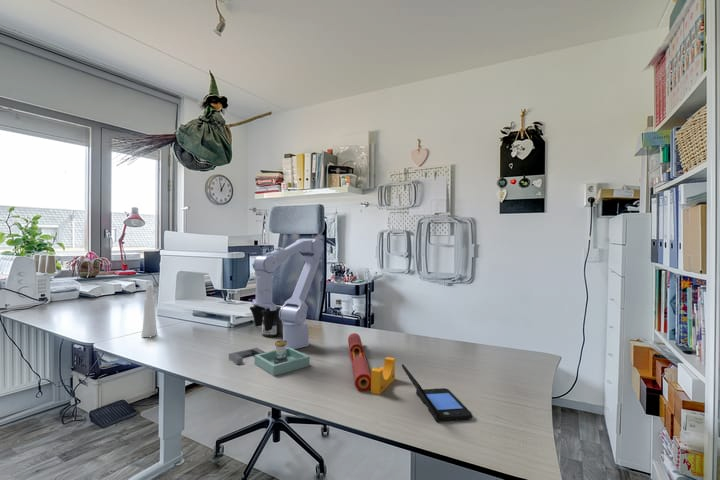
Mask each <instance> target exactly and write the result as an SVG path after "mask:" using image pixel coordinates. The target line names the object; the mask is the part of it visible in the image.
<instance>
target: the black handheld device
mask: <svg viewBox="0 0 720 480" xmlns="http://www.w3.org/2000/svg"><path fill="white" fill-rule="evenodd" d="M401 367H402V369H403V371H404V372H405V374H406V375H407V377H408V378H409V380H410V382H411V383H412V384H413V386H414V388H415V389H416V390H415V394H416V396H417V397H418V398H419V399H420V401H421V402H422V404H423V405H425V406H426V407H427V409H428V412H429V413H430V415H431V416H432V417H433V420H434V421H435V422H436V423H441V422H457V421H469V420H470V421H471V420H472V418H473V414H472V412H471V411H470V410H469V409H468V408H467V407H466V406H465V405H464V403H463V402H462V401H460V399H459V398H457V396H456V395H455V394H454V393H453V392H452V391H451V390H450V389H449V388H440V387H439V388H427V389H423V388H422V385H420V383H419V382H418V381H417V380H416V379H415V377H414V376H413V375H412V373H411V372H410V371H409V370H408V368H407V367H406V366H405V365H404V364H403V363H402V364H401Z"/></svg>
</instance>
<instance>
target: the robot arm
mask: <svg viewBox="0 0 720 480" xmlns="http://www.w3.org/2000/svg"><path fill="white" fill-rule="evenodd" d="M324 250H325V248H324V244H323V240H321V239H320V238H317V237H316V238H303V237H302V238H299V239H296V240H295V241H294V242H293V243H291V244H290V245H288V246H286V247H284V248H283V247H278V246H277V247H275V248H274V250H272V251H270V252H266V253H265V254H264V255H258V256H257V257H256V258H255V259H254V260H253V263H252V265H251V266H252V269H253V271H254V275H255V299H254V298H253V299H252V303H251V304H252V306H250V307H249V310H250V313H252V317H253V321H254V325H255V327H262V322H263V319H264V325H265V330H266V331H268V330H272V326H273V323H274V319H275V317H276V315H277V313H278V310H276V306H277V304H275V303H274V302H273V286H274V285H273V283H274V282H273V279H274V277H273V276H274V275H273V274H274V273H275V271H276V270H277V267H279V266H280V265H282V264H284V263H286V262H287V261H289V257H290V256H293V255H295V254H297V253H299V256H300V258H301V259H302V260H303V261H304V265H303V268H302V269H301V270H302V271H301V272H300V276H299V277H298V280H297V283H296V286H295V287H294V291H293V293H292V295H291V297H290V298H288V299H287V300H285V301H284V303H283V305H282V306H280V307H281V309H280V311H279V318H280V320H281V321H282V323H283V334H282V337H283V338H282V340H284V341H287V345H286V348H288V347H290V348H292V349H294V350H297V349H301V348H305V347H308V346H311V345H310V343H309V338H310V337H309V336H310V335H309V333H310V332H309V331H310V330H309V326H308V323H307V322H306V320H307V315H308V314H307V312H308V309H309V307H308V305H307V303H306V302H305V301H306V298H307V297H308V293H309V291H310V289H311V285H312V282H313V281H314V277H315V275H316V272H317V269H318V267H319V264H320V260H321V258H322V255H323V253H324ZM265 308H266V309H267V310H265Z"/></svg>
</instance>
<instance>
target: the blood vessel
mask: <svg viewBox="0 0 720 480" xmlns="http://www.w3.org/2000/svg"><path fill="white" fill-rule="evenodd" d="M361 339H362V338H361V336H360V335H359V334H358V333H355V332H354V333H351V334H349V336H348V337H347V342H348V349H349V355H350V363H351V369H352V375H353V381H354V387H355V388H356V389H357V390H358V391H361V392H363V391H367V392H368V391H369V390H371V370H370V367H369V364H368V360H367V359H366V356H365V353H364V347H363V343H362V340H361Z"/></svg>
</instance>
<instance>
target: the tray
mask: <svg viewBox="0 0 720 480" xmlns="http://www.w3.org/2000/svg"><path fill="white" fill-rule="evenodd" d="M265 352H266V351H265ZM275 358H276V349H275V350H272V351H268V352H266V353H262V354H258V355H254V365H256V366H257V367H258V368H259V369H261V370H263V371H265V372H266V373H268V374H269V375H271V376H272V377H273V376H274V377H275V376H279V375H282V374H285V373H289V372H291V371H296V370H300V369H302V368H303V369H304V368H307V367H310V366H311V364H310V363H311V361H310V359H311V357H310V356H309V355H307V354H305V353H303V352H301V351H298V350H297V349H292V348H290V347H288V348H286V358H288V361H287V362H283V363H279V364H274V359H275Z"/></svg>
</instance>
